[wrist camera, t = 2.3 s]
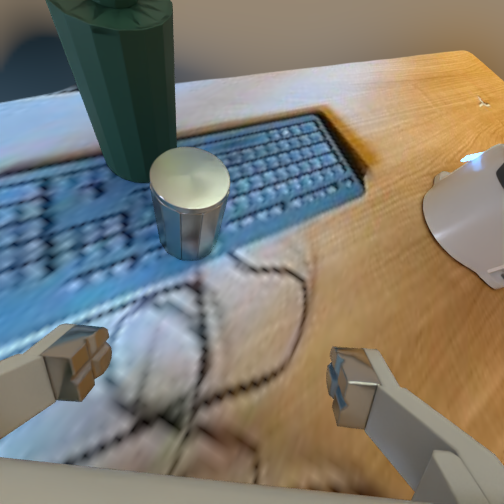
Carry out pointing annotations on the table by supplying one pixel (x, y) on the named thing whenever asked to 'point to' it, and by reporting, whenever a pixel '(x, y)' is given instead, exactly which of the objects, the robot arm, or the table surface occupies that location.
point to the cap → (188, 200)
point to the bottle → (123, 76)
